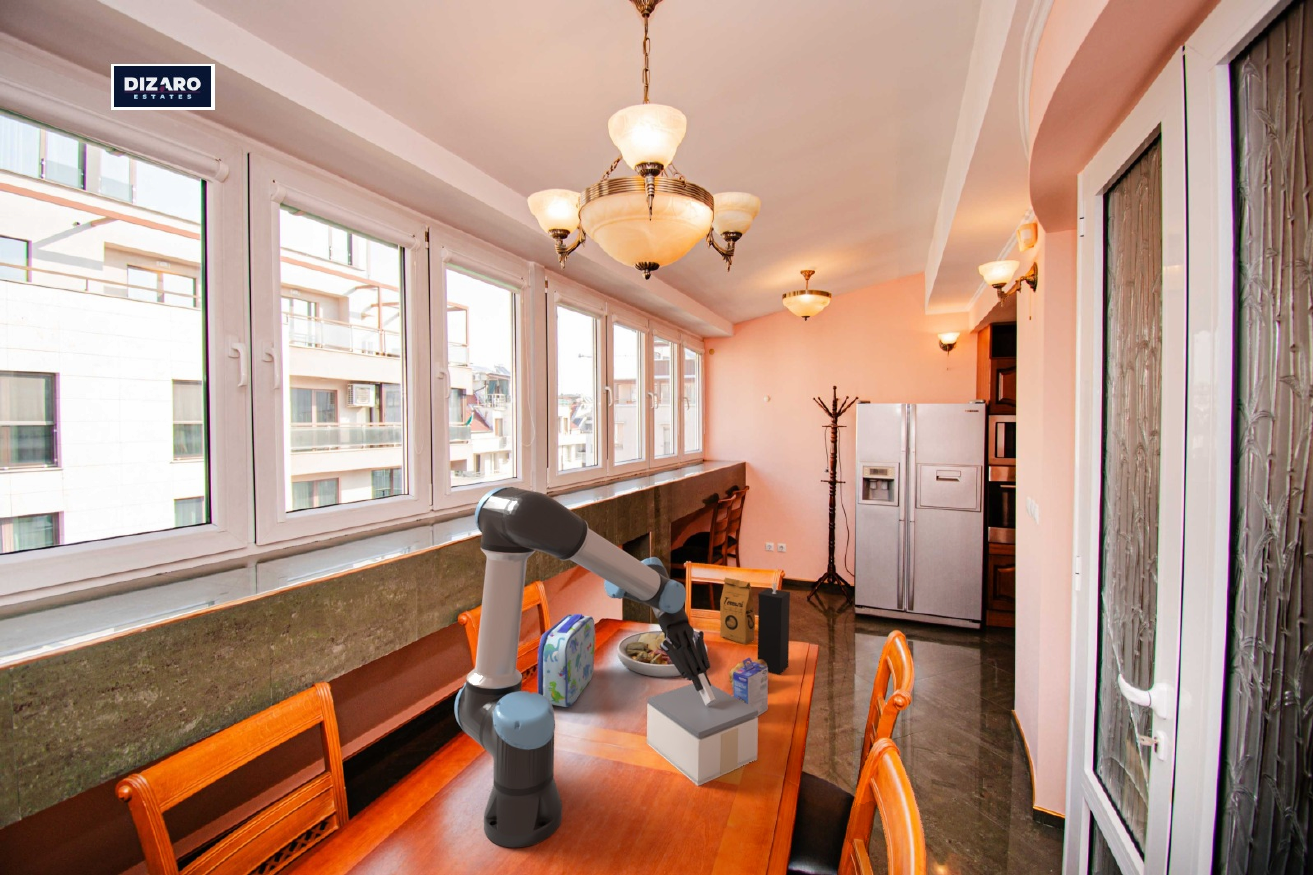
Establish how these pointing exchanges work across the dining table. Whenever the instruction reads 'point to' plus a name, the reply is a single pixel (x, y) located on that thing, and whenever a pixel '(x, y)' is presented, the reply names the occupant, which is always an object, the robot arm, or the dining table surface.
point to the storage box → (702, 746)
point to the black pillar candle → (774, 629)
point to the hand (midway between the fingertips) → (710, 702)
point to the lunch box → (566, 659)
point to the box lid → (701, 709)
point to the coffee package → (737, 611)
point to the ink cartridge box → (752, 685)
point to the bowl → (647, 654)
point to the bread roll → (743, 666)
